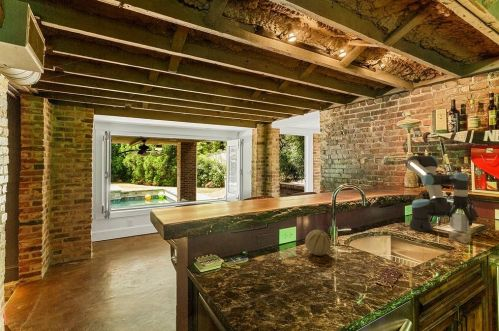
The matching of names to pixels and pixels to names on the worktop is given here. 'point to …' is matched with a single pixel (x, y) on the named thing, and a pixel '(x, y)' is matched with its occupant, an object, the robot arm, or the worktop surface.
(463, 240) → the pedestal block
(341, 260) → the worktop surface
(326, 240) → the cantaloupe
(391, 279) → the chocolate bar
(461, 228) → the small box
